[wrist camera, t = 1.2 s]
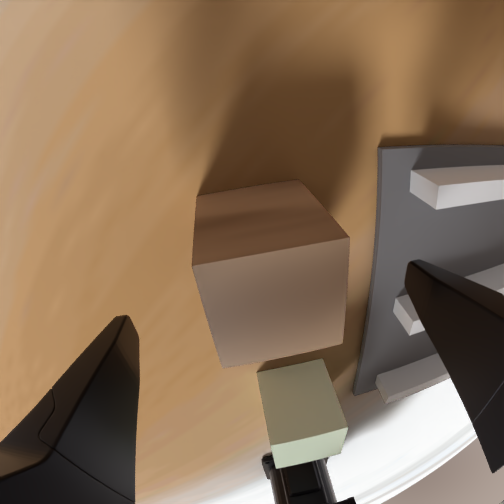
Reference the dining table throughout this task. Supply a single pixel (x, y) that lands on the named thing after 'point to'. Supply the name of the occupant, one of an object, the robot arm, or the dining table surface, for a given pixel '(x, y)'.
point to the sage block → (302, 413)
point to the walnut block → (270, 272)
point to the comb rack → (427, 253)
